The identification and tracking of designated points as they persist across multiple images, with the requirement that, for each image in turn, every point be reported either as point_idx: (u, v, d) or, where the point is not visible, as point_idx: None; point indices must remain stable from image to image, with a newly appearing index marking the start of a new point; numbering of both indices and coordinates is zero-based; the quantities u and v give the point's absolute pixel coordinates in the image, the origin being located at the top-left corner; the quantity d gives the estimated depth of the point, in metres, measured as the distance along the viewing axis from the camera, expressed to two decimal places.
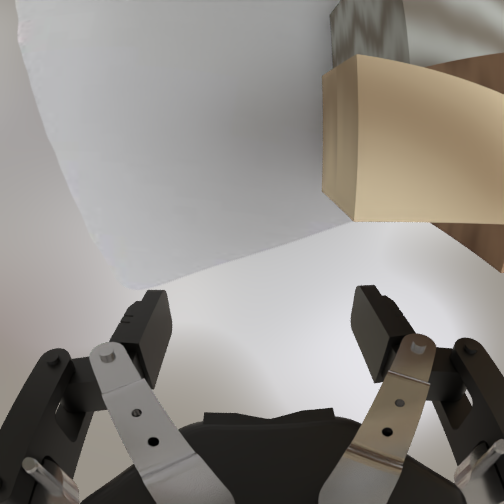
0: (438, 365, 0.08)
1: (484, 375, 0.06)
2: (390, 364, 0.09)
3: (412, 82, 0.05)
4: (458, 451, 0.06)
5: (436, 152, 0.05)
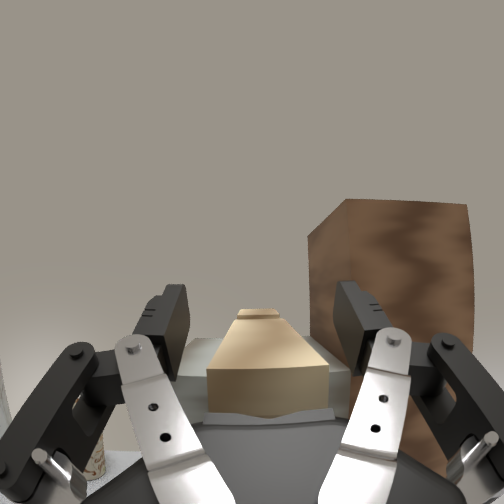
0: (414, 359, 0.08)
1: (465, 369, 0.07)
2: (366, 358, 0.09)
3: (224, 358, 0.09)
4: (446, 445, 0.06)
5: (269, 353, 0.10)
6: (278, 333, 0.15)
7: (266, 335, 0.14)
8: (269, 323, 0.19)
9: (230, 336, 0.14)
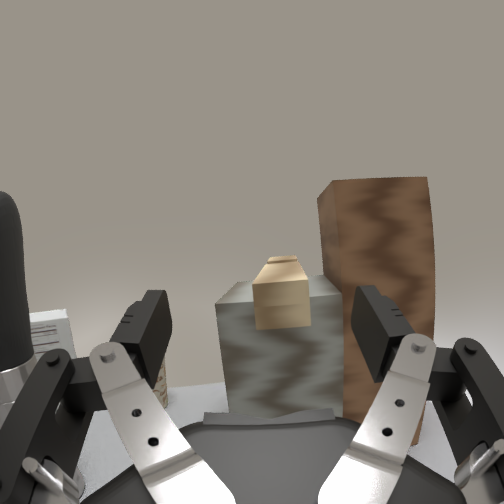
0: (438, 365, 0.08)
1: (484, 375, 0.06)
2: (390, 364, 0.09)
3: (260, 280, 0.20)
4: (458, 451, 0.06)
5: (282, 277, 0.21)
6: (291, 269, 0.25)
7: (283, 270, 0.25)
8: (287, 264, 0.29)
9: (262, 272, 0.25)
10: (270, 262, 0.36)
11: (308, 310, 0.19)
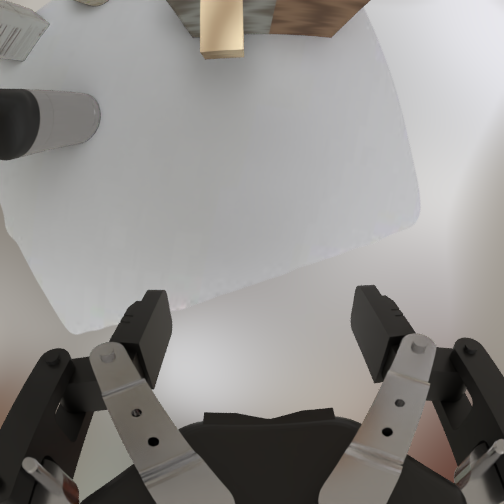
0: (438, 365, 0.08)
1: (484, 375, 0.06)
2: (390, 364, 0.09)
3: (205, 38, 0.20)
4: (458, 451, 0.06)
5: (223, 30, 0.20)
6: None
7: None
8: None
9: None
10: None
11: (242, 54, 0.22)
